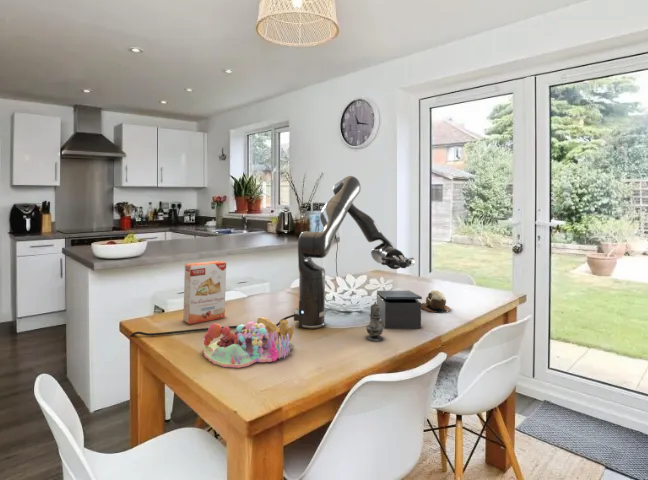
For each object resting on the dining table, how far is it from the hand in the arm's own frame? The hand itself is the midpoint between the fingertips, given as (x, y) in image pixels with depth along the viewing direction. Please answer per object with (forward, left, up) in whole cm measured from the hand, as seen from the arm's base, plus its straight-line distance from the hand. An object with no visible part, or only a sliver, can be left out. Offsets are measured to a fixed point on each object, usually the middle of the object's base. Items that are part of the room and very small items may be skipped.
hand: (404, 265), depth 144 cm
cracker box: (-71, +12, -22) cm, 75 cm away
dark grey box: (0, +8, -22) cm, 24 cm away
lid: (0, +7, -13) cm, 15 cm away
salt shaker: (-12, -9, -22) cm, 27 cm away
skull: (+20, +25, -22) cm, 39 cm away
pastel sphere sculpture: (-51, -19, -22) cm, 59 cm away
